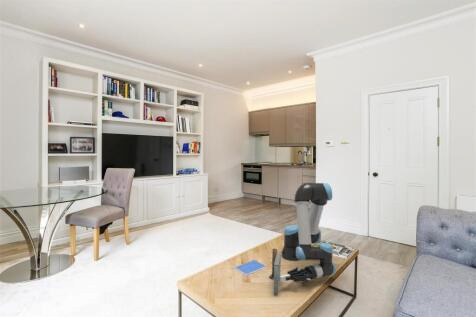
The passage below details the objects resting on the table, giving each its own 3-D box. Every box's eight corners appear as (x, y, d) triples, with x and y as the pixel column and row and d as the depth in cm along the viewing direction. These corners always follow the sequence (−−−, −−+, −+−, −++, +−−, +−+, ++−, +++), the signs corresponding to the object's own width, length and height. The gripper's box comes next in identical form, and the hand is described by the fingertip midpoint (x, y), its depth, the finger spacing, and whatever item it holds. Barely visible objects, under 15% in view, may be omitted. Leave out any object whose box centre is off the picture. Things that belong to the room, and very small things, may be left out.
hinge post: (269, 277, 151) (269, 249, 151) (272, 274, 156) (273, 247, 155) (276, 280, 149) (276, 251, 148) (279, 276, 153) (280, 249, 152)
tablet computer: (254, 261, 176) (254, 259, 176) (266, 267, 166) (266, 266, 166) (234, 269, 163) (234, 267, 163) (246, 276, 154) (246, 274, 154)
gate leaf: (276, 275, 152) (277, 251, 151) (280, 276, 151) (281, 251, 151) (273, 292, 133) (273, 265, 132) (277, 293, 132) (278, 265, 132)
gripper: (320, 283, 140) (286, 291, 131) (306, 272, 152) (274, 279, 143) (320, 270, 140) (286, 278, 131) (306, 261, 152) (274, 267, 143)
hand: (280, 279), depth 137 cm, fingers closed
